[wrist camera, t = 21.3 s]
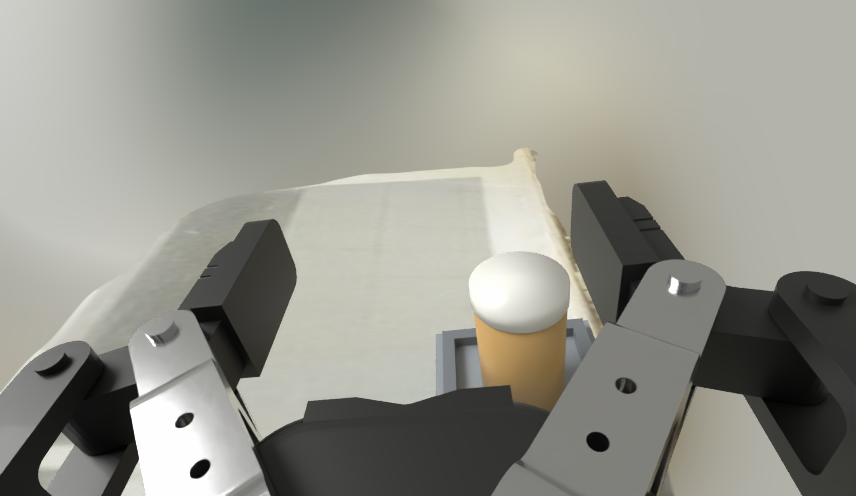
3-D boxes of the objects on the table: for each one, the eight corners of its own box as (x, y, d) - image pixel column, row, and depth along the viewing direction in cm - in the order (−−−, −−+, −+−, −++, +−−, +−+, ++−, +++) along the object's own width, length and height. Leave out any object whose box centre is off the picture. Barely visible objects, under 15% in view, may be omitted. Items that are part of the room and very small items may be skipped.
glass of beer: (484, 429, 33) (470, 320, 26) (480, 361, 38) (467, 255, 31) (573, 425, 32) (580, 312, 26) (557, 356, 37) (559, 247, 31)
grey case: (448, 530, 34) (434, 473, 30) (445, 384, 45) (434, 326, 41) (633, 521, 33) (647, 459, 28) (583, 372, 44) (588, 312, 39)
